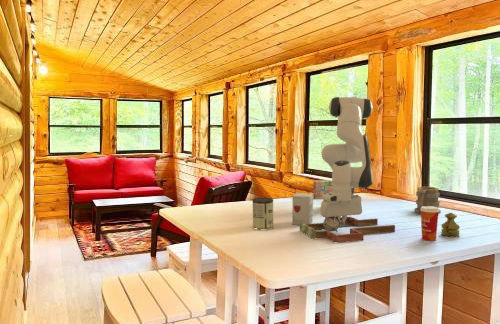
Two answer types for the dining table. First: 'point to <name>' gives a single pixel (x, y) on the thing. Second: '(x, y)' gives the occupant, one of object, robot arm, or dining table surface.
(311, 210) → the supplement box
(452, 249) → the dining table surface
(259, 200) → the coffee can
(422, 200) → the tankard
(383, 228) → the trap channel
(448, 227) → the gold metal turned piece
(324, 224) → the game die
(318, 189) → the stack of blocks
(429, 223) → the paper cup
